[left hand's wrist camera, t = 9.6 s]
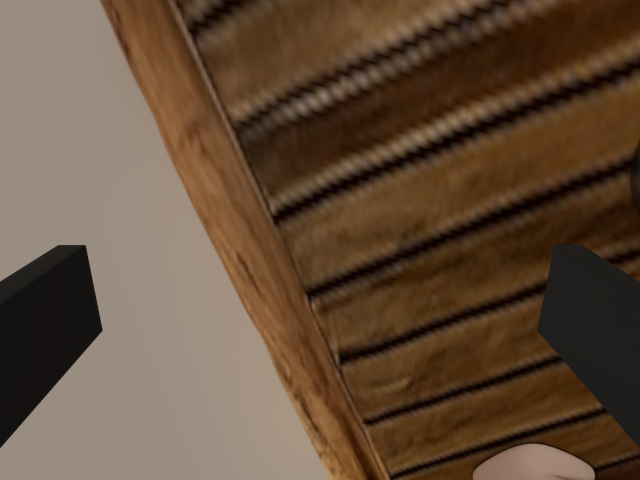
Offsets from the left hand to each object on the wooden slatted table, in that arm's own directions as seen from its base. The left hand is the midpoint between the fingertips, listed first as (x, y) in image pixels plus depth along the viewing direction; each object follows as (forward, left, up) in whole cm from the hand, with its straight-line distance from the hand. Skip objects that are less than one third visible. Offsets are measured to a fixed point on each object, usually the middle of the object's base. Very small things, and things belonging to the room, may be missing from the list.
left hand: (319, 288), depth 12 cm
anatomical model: (-5, +46, -27) cm, 53 cm away
